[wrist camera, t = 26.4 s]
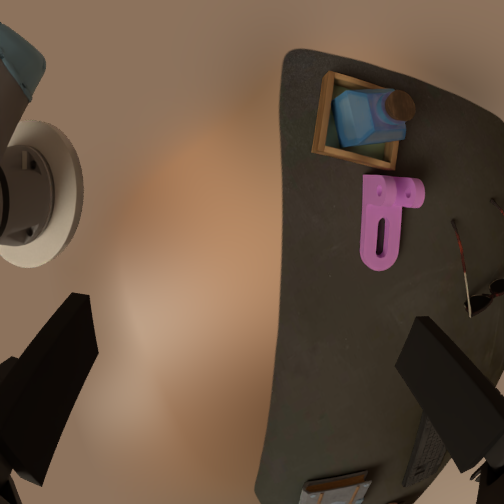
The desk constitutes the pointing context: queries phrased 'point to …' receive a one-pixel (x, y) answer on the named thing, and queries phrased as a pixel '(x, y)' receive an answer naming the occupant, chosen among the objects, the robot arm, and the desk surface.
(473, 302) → the sunglasses
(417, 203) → the bracket
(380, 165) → the holder
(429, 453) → the keyboard
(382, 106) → the blue bottle with cork
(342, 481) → the book
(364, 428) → the desk surface
